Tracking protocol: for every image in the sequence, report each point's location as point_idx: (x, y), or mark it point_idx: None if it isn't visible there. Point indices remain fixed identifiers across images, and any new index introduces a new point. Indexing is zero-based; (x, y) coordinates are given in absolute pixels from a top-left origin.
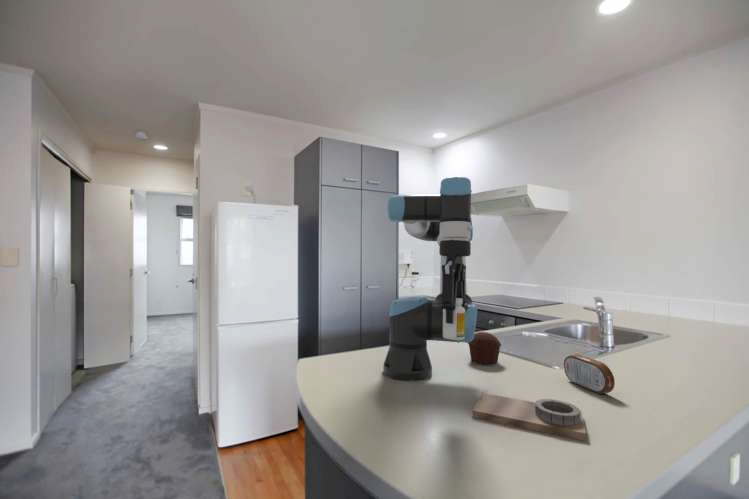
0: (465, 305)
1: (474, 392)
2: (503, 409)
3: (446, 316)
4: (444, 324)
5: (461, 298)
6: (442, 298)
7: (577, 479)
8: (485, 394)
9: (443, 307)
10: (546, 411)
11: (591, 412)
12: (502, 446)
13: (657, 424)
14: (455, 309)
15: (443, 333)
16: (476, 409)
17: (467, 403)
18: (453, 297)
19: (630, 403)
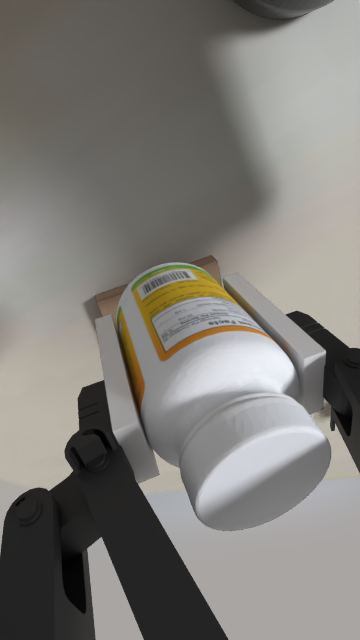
0: (332, 428)
1: (241, 220)
2: None
3: (80, 423)
4: (131, 332)
5: (295, 504)
6: (1, 588)
7: (36, 469)
8: (212, 272)
9: (75, 460)
10: None
11: None
12: (29, 387)
13: None
14: (168, 461)
15: (129, 295)
16: (108, 305)
17: (160, 246)
18: (90, 619)
19: None
